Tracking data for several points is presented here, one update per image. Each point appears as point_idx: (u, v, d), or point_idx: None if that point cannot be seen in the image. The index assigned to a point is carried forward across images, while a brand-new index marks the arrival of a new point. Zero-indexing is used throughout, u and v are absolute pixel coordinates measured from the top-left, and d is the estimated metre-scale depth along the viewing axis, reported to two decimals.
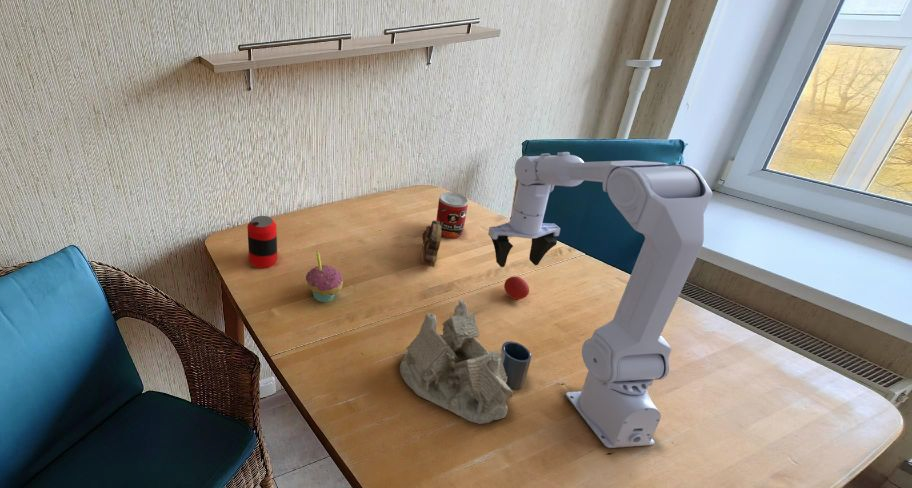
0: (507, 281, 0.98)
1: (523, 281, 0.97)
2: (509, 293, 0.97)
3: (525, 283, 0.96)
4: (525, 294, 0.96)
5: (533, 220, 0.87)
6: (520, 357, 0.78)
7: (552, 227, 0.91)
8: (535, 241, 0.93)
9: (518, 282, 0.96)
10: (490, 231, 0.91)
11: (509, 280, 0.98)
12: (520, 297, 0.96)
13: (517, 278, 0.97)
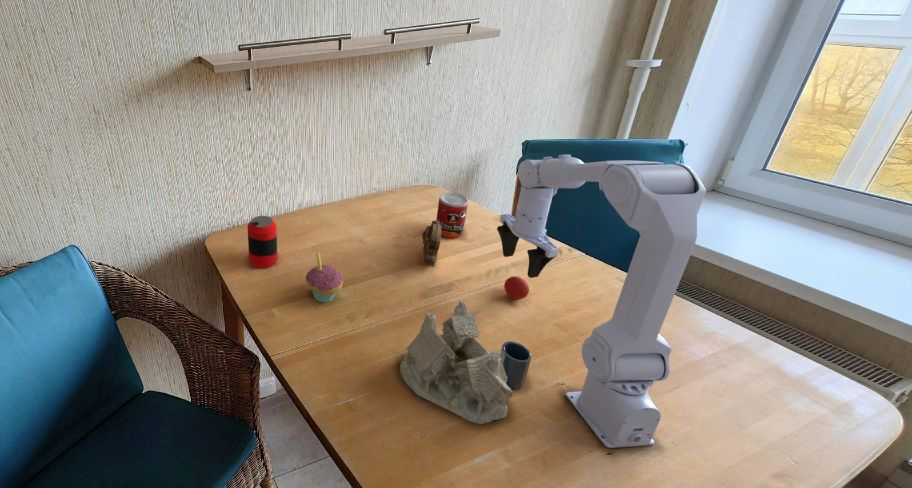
0: (507, 281, 0.98)
1: (523, 281, 0.97)
2: (509, 293, 0.97)
3: (525, 283, 0.96)
4: (525, 294, 0.96)
5: (517, 216, 0.91)
6: (520, 357, 0.78)
7: (549, 246, 0.87)
8: None
9: (518, 282, 0.96)
10: None
11: (509, 280, 0.98)
12: (520, 297, 0.96)
13: (517, 278, 0.97)
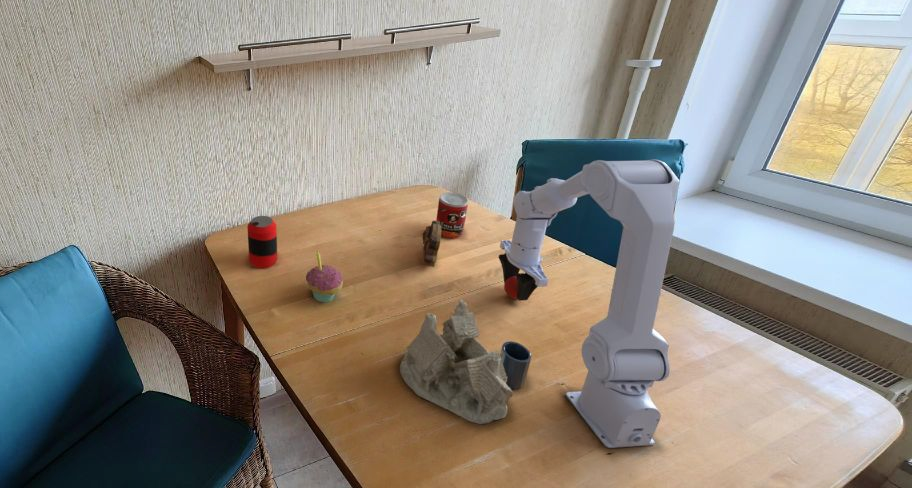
0: (507, 281, 0.98)
1: None
2: (509, 293, 0.97)
3: None
4: None
5: (512, 244, 0.94)
6: (520, 357, 0.78)
7: (539, 276, 0.90)
8: None
9: None
10: None
11: (509, 280, 0.98)
12: None
13: None
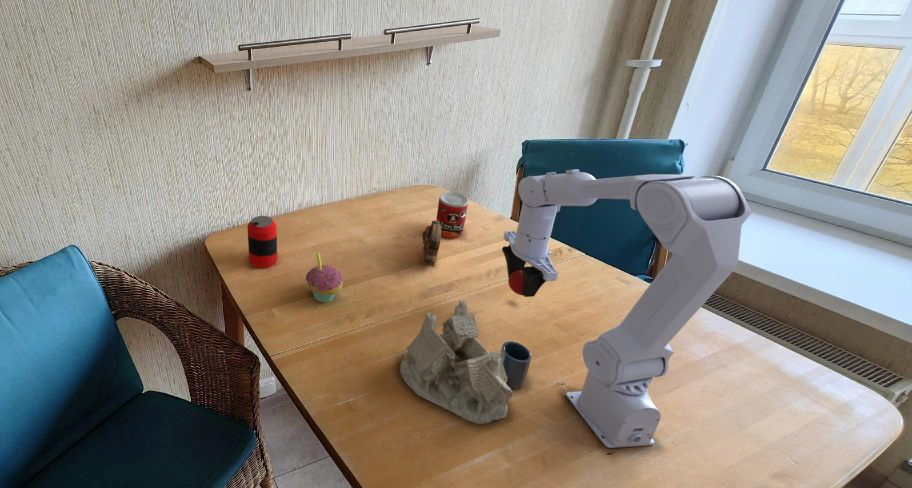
0: (511, 275, 0.89)
1: None
2: (514, 289, 0.88)
3: None
4: None
5: (517, 234, 0.85)
6: (520, 357, 0.78)
7: (547, 269, 0.81)
8: None
9: None
10: None
11: (514, 275, 0.89)
12: None
13: None
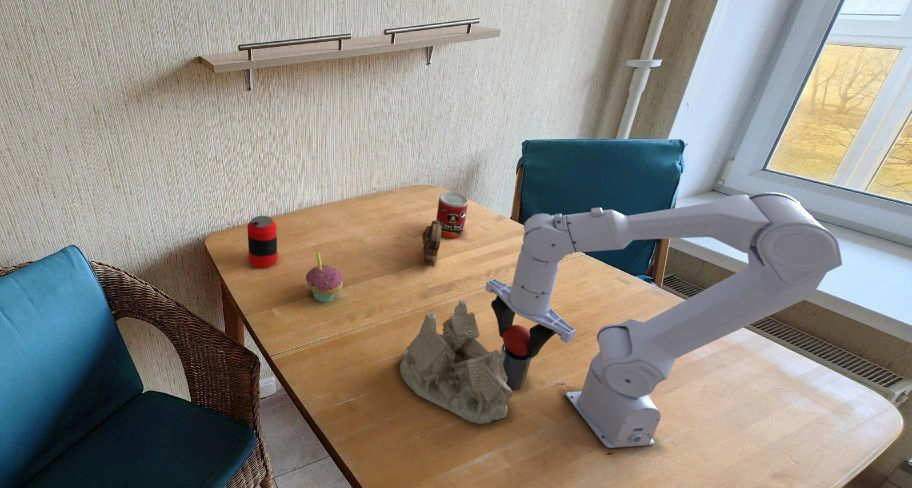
0: (509, 335, 0.75)
1: (527, 331, 0.75)
2: (515, 351, 0.74)
3: None
4: None
5: (518, 291, 0.71)
6: (520, 357, 0.78)
7: (564, 328, 0.68)
8: None
9: (524, 334, 0.74)
10: None
11: (512, 334, 0.75)
12: None
13: (519, 329, 0.75)
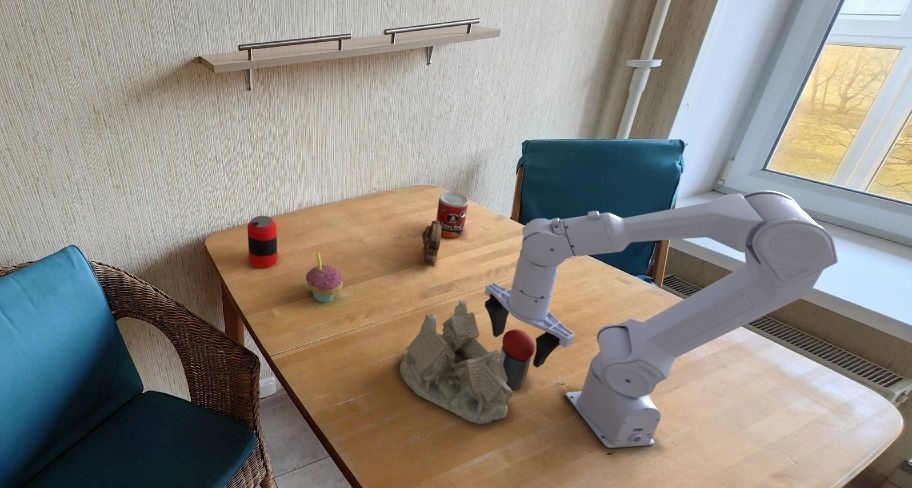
0: (508, 339, 0.75)
1: (527, 335, 0.75)
2: (515, 355, 0.74)
3: (530, 338, 0.75)
4: (533, 352, 0.74)
5: (517, 295, 0.71)
6: None
7: (562, 332, 0.68)
8: None
9: (524, 338, 0.74)
10: None
11: (511, 338, 0.75)
12: (528, 358, 0.74)
13: (519, 333, 0.75)
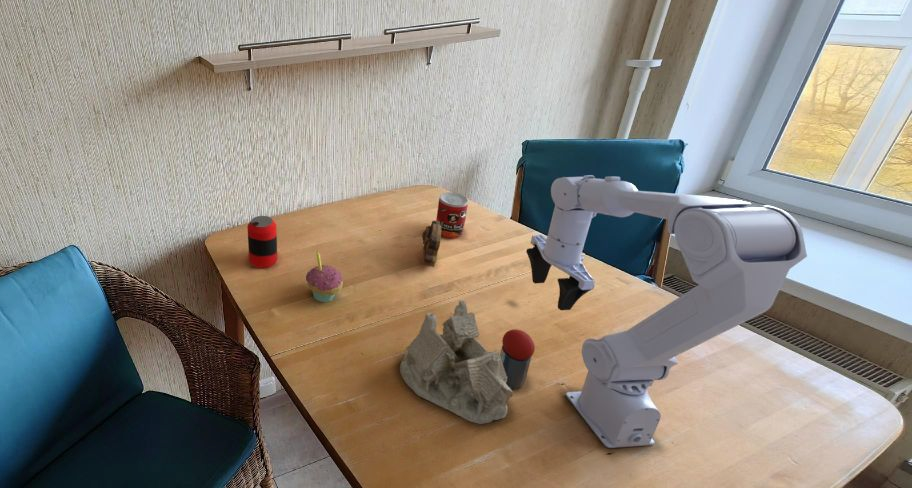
0: (508, 339, 0.75)
1: (527, 335, 0.75)
2: (515, 355, 0.74)
3: (530, 338, 0.75)
4: (533, 352, 0.74)
5: (548, 240, 0.80)
6: None
7: (583, 277, 0.75)
8: None
9: (524, 338, 0.74)
10: None
11: (511, 338, 0.75)
12: (528, 358, 0.74)
13: (519, 333, 0.75)
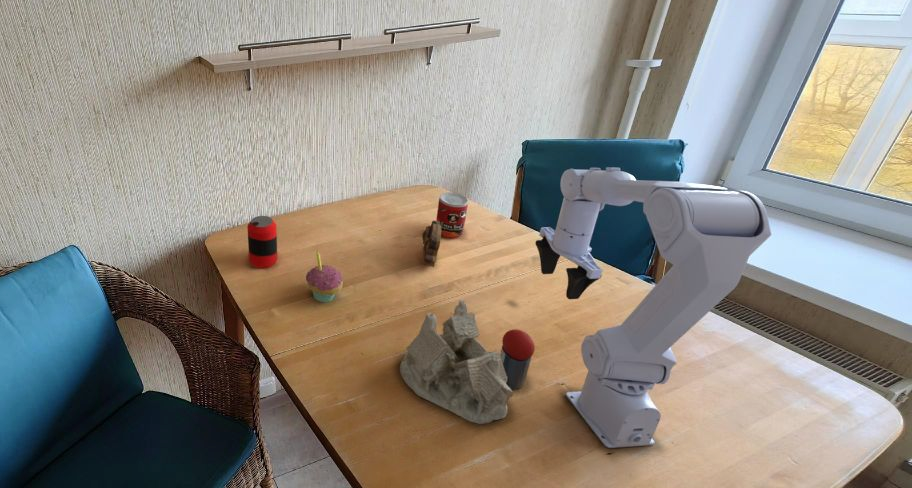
0: (508, 339, 0.75)
1: (527, 335, 0.75)
2: (515, 355, 0.74)
3: (530, 338, 0.75)
4: (533, 352, 0.74)
5: (557, 231, 0.83)
6: None
7: (591, 266, 0.78)
8: None
9: (524, 338, 0.74)
10: None
11: (511, 338, 0.75)
12: (528, 358, 0.74)
13: (519, 333, 0.75)
